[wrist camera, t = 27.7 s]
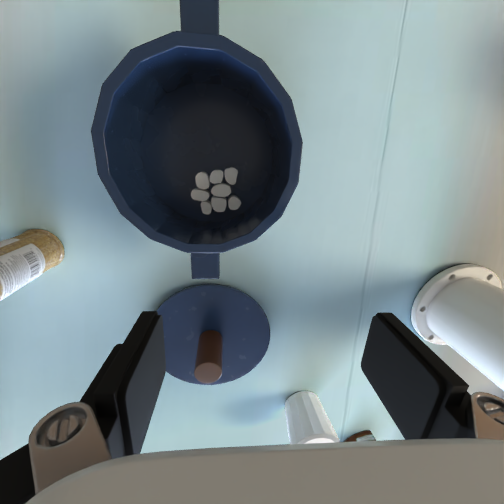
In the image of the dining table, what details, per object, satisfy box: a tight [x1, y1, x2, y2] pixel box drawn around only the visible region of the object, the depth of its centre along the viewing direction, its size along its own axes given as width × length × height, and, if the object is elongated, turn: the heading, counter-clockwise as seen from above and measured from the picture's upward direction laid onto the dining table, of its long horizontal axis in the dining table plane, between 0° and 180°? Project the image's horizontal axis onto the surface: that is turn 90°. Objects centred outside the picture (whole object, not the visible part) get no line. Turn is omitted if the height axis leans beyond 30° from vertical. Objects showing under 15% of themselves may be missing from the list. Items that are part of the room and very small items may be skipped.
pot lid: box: [157, 284, 270, 385], centre depth 30 cm, size 16×16×7 cm
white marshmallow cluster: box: [191, 167, 241, 214], centre depth 26 cm, size 5×1×4 cm
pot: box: [91, 0, 303, 279], centre depth 22 cm, size 15×20×8 cm
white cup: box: [285, 391, 340, 444], centre depth 37 cm, size 7×7×7 cm
